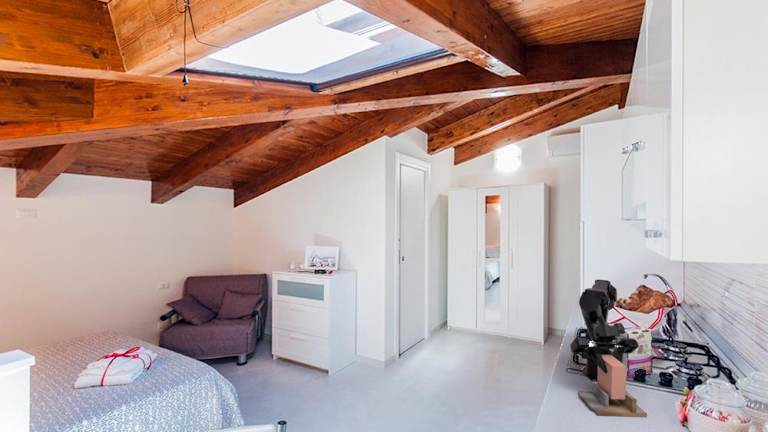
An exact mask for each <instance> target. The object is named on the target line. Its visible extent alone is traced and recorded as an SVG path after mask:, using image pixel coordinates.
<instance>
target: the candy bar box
mask: <svg viewBox="0 0 768 432" xmlns="http://www.w3.org/2000/svg"><path fill="white" fill-rule="evenodd" d="M624 329H625V333H624V334H620V337H619V336H616V342H619V341H620V340H621V339H622V338H634V339H635V340H636V341H637V342H638V345H639V347H638V348H637V349H636V350H635V351H633V352H632V353H630V354H627V353H623V359H622V364H624V365H625V366H626V379H630V378H629V377H633V376H634V372H635V371H637V370H639V369H644V370H646V372H647V373H648V374H650V375H652V374H653V372H652V371H653V369H652V367H653V361H652V360H653V354H652V353H653V329H650V328H647V327H645V326H642V325H637V326H631V327H624ZM633 378H634V377H633Z"/></svg>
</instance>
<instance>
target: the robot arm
mask: <svg viewBox="0 0 768 432" xmlns="http://www.w3.org/2000/svg"><path fill="white" fill-rule="evenodd" d="M617 301H618V290H617V288H616V287H615V286H614V285H612V283H611V281H609V280H607V279H594V283H593V284H592V286H591V287H590V288H589V287H587V288H585V289H584V291H582V293H581V295H580V297H579V300H578V303H579V309H580V311H581V314H582V318H583V322H584V324H585V326H586V329H587V330H586V331H585V336H584V337H575V338H574V340H573V341H572V342H570V350H571V352H572V353H575V354H581V355H580V356H581V359H583V360H586V370H582V372H581V373H582V374H584V376H586V377H587V378H588V379H589V380H590V381H597V378H598V366H599V367H600V368H601V369H602V371H603V372H604V373H607V368H606V365H605V363H604V360H603V358H602V355H612V356H613V357H615V358H616V359H617V360H618V361H620V362H621V363H622V359H623V353H627V354H630V353H632V352H633V351H635V350H636V349H637V348H638V347H639V345H638V342H637V341H636V340H635V339H634V338H622V339H621V340H620V341H619V342H617V341H615V340H617V336H619V337H620V334H624V333H625V329H624V328H625V327H624V324H623V323H622V322H616V323H613V325H610V324H609V323H608V318H609V317H608V316H609V311H610V310H612V309H613V308H615V305H616V304H615V303H617ZM613 341H614V342H613Z"/></svg>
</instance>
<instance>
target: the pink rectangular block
mask: <svg viewBox="0 0 768 432" xmlns="http://www.w3.org/2000/svg"><path fill="white" fill-rule="evenodd" d="M602 358H603V360H604V363H605V365H606V368H607V373H604V372H603V371H602V369H601V368H600V367H599V366H598V378H597V380H596V381H597V383H596V384H597V385H598V386H599V387H600V388H601V389H602V390H603V391H604V392H605V393H606V394H607V395H608V396H609V397H610V398H611V399H625V391H627V390H626V385H627V383H626V382H627V377H626V366H625V365H624V364H622V363H621V362H620V361H618V360H617V359H616V358H615V357H613V356H612V355H602Z"/></svg>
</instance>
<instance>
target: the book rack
mask: <svg viewBox="0 0 768 432" xmlns="http://www.w3.org/2000/svg"><path fill="white" fill-rule="evenodd" d="M591 385H592V386H591V391H578V392H577V395H578V396H579V398H581V400H583V402H584V403H585V404H586V405H587V406H588V407H589V409H591V411H592V412H593V414H595V415H596V416H597V417H627V418H629V417H630V418H631V417H632V418H647V417H648V413H647V412H646V411H645V410H643V408H641V407H640V406H639V405H638V404H637V403H638V402H637V401H638V400H637V399H636V398H635V397H634V396H633V395H632V394H631V393H629V392H628V391H627V390H626V391H625V399H611V398H610V397H609V396H608V395H607V394H606V393H605V392H604V391H603V390H602V389H601V388H600V387H599V386H598V385H597V383H596V382H591Z"/></svg>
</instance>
